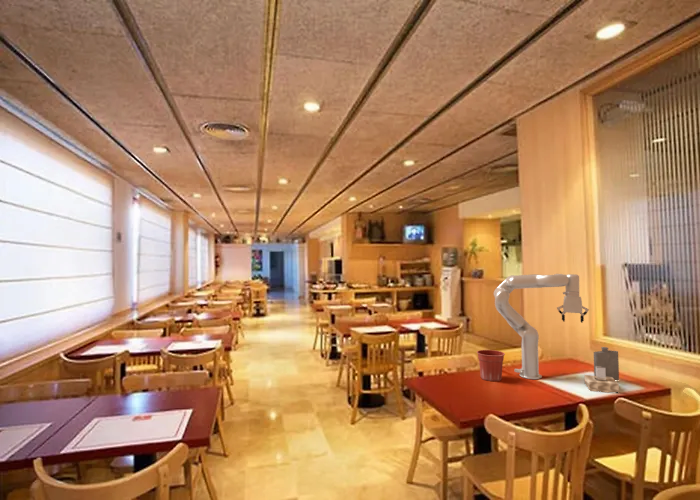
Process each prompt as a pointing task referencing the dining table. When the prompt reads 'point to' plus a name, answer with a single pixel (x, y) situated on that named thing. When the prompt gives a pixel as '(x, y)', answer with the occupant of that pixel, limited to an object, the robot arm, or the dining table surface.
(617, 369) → the hip flask
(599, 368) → the light grey tall block
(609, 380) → the birch block
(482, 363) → the flower pot
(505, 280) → the robot arm
